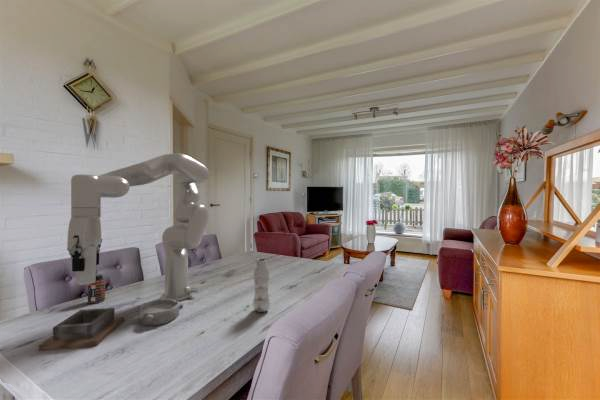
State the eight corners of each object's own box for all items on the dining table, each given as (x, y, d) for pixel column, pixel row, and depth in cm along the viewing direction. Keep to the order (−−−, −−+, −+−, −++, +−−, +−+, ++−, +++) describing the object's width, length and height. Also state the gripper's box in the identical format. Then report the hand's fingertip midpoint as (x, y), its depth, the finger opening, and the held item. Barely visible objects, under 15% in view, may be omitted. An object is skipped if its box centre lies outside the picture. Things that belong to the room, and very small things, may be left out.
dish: (151, 331, 89) (151, 316, 89) (129, 321, 97) (129, 307, 97) (189, 315, 102) (189, 302, 102) (167, 307, 109) (167, 295, 109)
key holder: (124, 320, 97) (124, 305, 97) (96, 345, 80) (97, 327, 80) (77, 323, 94) (77, 307, 94) (38, 350, 77) (38, 331, 77)
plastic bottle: (256, 315, 101) (256, 262, 101) (250, 309, 107) (251, 258, 107) (272, 312, 104) (272, 260, 104) (266, 306, 110) (266, 257, 110)
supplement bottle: (95, 304, 111) (95, 277, 111) (84, 303, 112) (84, 276, 112) (108, 299, 117) (108, 273, 117) (97, 298, 118) (97, 272, 118)
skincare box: (75, 282, 87) (75, 244, 87) (92, 278, 91) (92, 243, 91) (79, 286, 83) (79, 247, 83) (97, 282, 87) (97, 245, 87)
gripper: (89, 211, 95) (89, 262, 95) (53, 214, 78) (53, 276, 78) (113, 211, 96) (113, 261, 96) (82, 214, 79) (82, 274, 79)
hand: (86, 267), depth 87 cm, fingers closed on skincare box, 7 cm apart
